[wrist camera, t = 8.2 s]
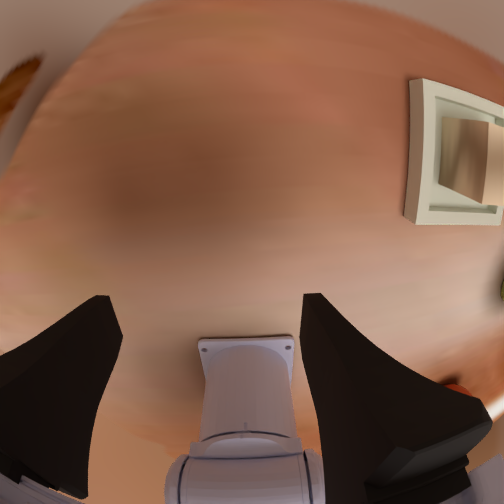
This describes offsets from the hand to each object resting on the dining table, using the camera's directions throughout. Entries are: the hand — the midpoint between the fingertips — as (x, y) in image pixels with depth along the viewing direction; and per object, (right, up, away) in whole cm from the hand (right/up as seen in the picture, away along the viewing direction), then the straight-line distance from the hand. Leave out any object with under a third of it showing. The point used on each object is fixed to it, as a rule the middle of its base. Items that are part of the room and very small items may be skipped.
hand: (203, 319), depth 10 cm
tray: (+18, +10, +7) cm, 21 cm away
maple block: (+18, +10, +6) cm, 21 cm away
